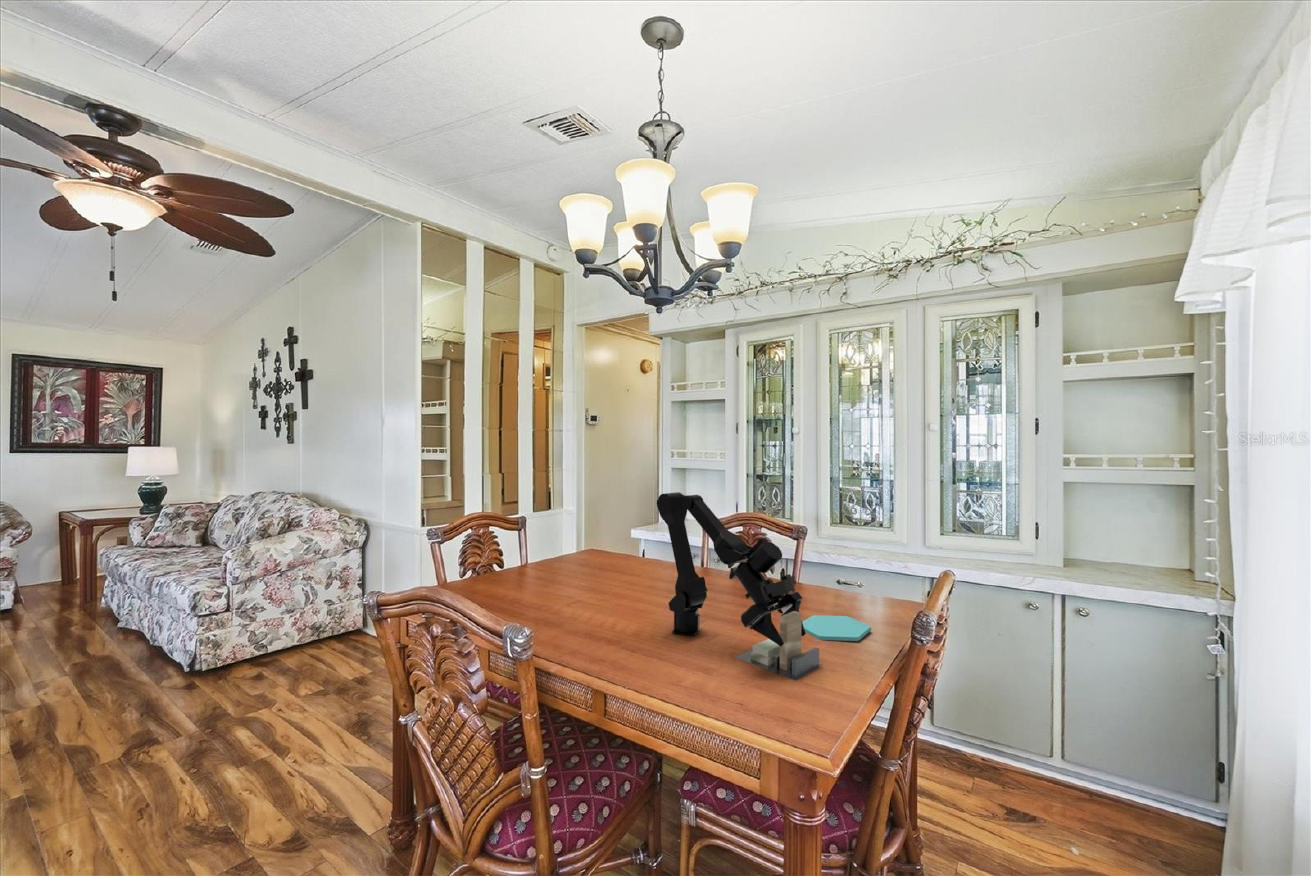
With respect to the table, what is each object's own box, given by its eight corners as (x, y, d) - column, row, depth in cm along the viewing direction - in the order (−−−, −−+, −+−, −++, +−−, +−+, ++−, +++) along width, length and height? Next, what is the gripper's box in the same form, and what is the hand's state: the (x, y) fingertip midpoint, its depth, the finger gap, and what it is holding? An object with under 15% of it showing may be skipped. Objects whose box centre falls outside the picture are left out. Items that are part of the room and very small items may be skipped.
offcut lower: (750, 659, 130) (750, 653, 130) (770, 650, 135) (770, 644, 135) (768, 665, 126) (768, 659, 126) (787, 656, 132) (787, 650, 132)
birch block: (779, 668, 125) (779, 616, 125) (793, 660, 129) (794, 610, 129) (787, 670, 123) (787, 618, 123) (801, 663, 128) (801, 612, 128)
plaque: (799, 642, 146) (877, 645, 142) (799, 635, 146) (877, 638, 142) (796, 620, 163) (865, 622, 159) (796, 614, 163) (865, 616, 159)
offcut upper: (752, 651, 131) (752, 645, 131) (769, 644, 135) (769, 638, 135) (768, 657, 127) (768, 651, 127) (784, 649, 132) (784, 643, 132)
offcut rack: (734, 661, 131) (734, 640, 131) (763, 648, 139) (763, 629, 139) (795, 685, 119) (795, 662, 119) (823, 669, 127) (823, 648, 127)
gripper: (751, 571, 123) (792, 631, 115) (795, 558, 136) (836, 612, 128) (724, 598, 129) (762, 657, 121) (769, 583, 142) (806, 636, 134)
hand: (793, 640), depth 126 cm, fingers open, 9 cm apart
